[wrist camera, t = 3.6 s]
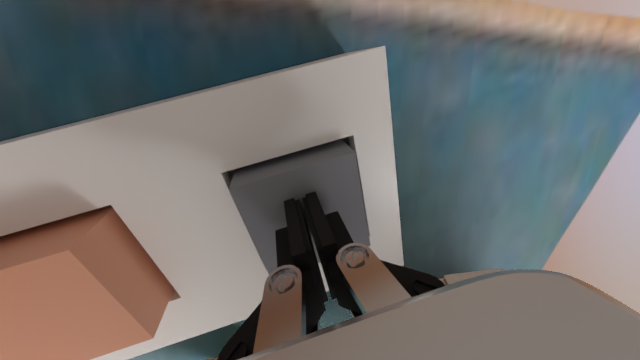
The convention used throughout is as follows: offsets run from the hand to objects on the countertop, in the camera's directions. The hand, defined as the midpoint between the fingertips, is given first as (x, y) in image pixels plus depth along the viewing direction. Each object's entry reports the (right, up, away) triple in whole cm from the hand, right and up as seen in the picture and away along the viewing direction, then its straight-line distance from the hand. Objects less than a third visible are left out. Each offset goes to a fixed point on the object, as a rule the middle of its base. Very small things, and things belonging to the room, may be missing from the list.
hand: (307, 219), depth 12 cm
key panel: (-7, +1, +6) cm, 9 cm away
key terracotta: (-12, -2, +2) cm, 12 cm away
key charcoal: (-1, +2, +4) cm, 4 cm away
